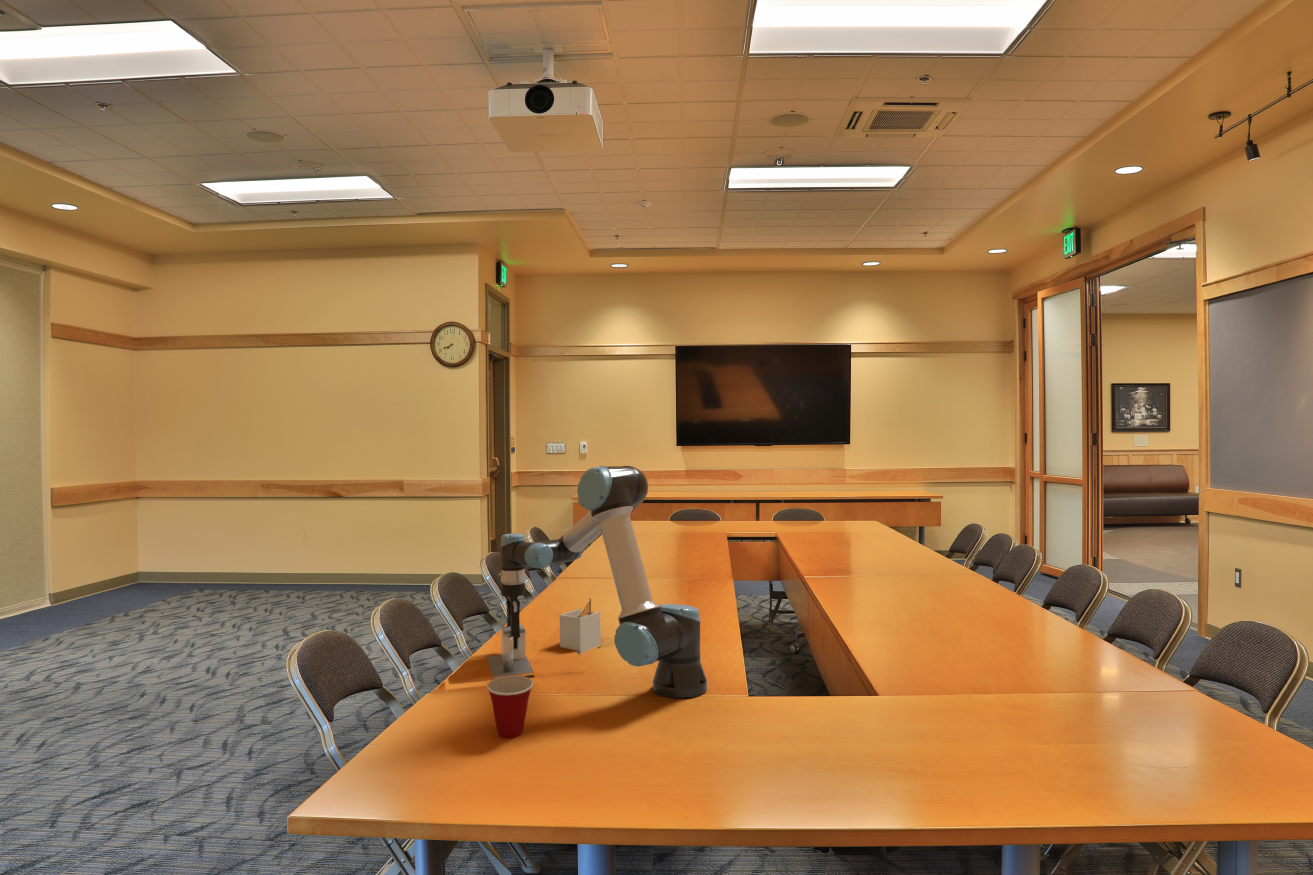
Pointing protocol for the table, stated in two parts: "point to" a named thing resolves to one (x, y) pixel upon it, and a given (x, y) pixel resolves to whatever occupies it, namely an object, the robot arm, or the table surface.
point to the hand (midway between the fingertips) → (513, 654)
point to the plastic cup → (510, 703)
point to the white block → (522, 653)
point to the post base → (517, 666)
